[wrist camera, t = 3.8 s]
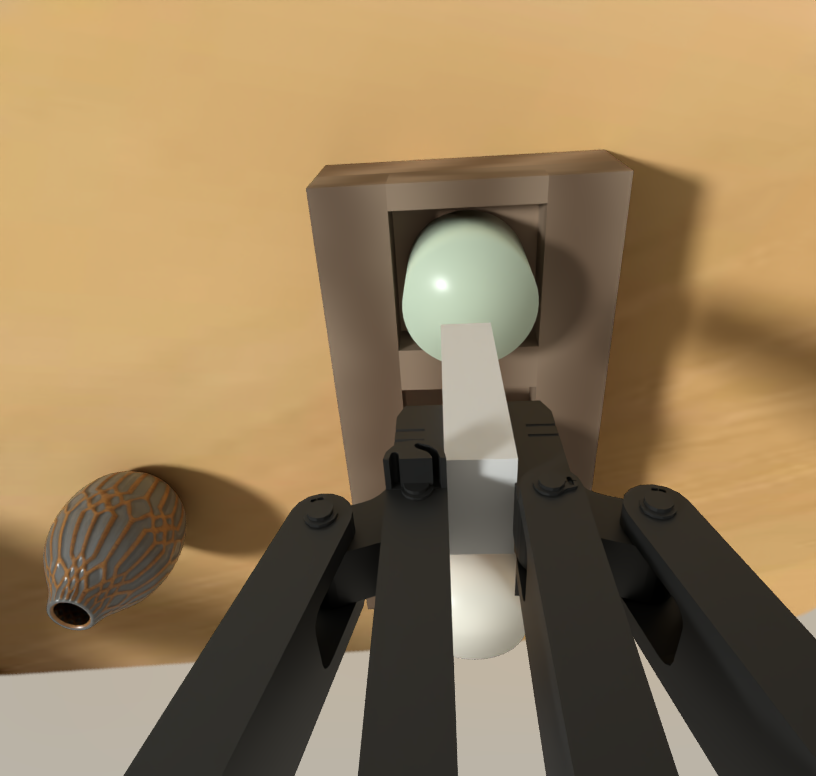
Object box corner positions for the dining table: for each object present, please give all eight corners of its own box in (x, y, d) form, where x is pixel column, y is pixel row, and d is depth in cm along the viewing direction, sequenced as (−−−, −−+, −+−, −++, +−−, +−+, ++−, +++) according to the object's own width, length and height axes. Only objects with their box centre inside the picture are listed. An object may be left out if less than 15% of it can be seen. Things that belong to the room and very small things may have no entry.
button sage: (410, 324, 26) (406, 368, 23) (403, 212, 24) (397, 243, 20) (523, 320, 26) (535, 364, 23) (527, 206, 24) (542, 236, 20)
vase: (219, 488, 36) (161, 608, 29) (175, 551, 39) (112, 674, 32) (112, 433, 34) (20, 546, 27) (75, 504, 37) (-17, 623, 30)
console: (375, 552, 38) (368, 609, 34) (325, 165, 26) (306, 188, 22) (562, 550, 37) (576, 609, 34) (604, 149, 25) (633, 170, 21)
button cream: (426, 594, 33) (424, 659, 30) (421, 530, 31) (419, 593, 27) (515, 594, 33) (524, 659, 29) (518, 529, 30) (528, 592, 27)
